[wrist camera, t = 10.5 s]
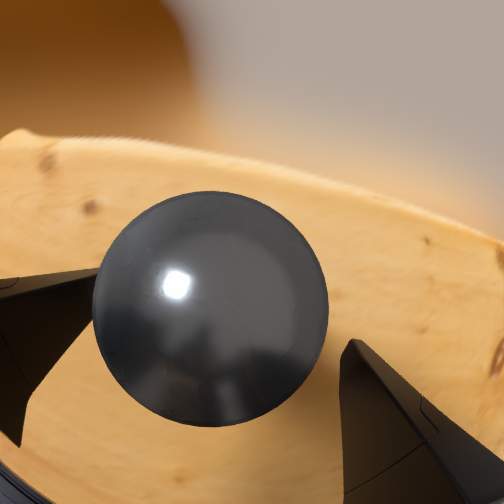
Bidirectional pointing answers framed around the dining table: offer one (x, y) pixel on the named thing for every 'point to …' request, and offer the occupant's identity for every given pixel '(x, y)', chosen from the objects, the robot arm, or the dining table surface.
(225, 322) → the canister
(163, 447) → the dining table surface
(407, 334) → the dining table surface
